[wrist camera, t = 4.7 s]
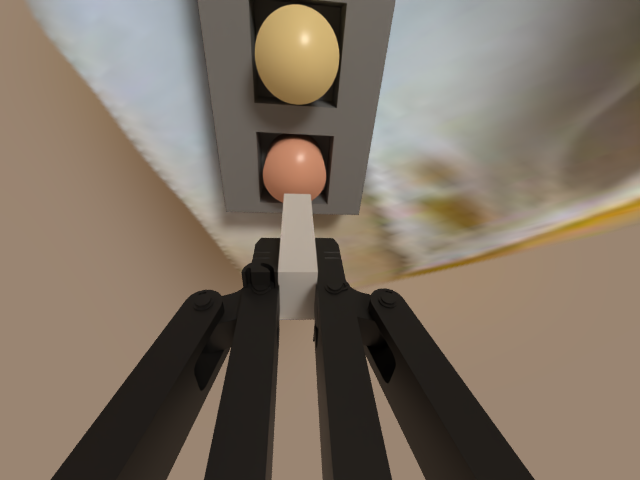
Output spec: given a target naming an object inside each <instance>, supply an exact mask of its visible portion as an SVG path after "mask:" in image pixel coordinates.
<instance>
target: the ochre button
mask: <svg viewBox="0 0 640 480" xmlns="http://www.w3.org/2000/svg"><path fill="white" fill-rule="evenodd" d="M255 62H256V66H257V70H258V73H259V76H260V78H261V80H262V82H263V83H264V85H265V86H266V87H267V89H268V90H269V91H270V92H271V93H272V94H273V95H274V96H276V97H277V98H279V99H280V100H282V101H284V102H287V103H290V104H296V105H302V104H308V103H311V102H313V101H315V100H317V99H319V98H320V97H322V96H323V95H324V94H325V93H326V92H327V91H328V90H329V88H330V87H331V85H332V83H333V81H334V79H335V77H336V74H337V71H338V66H339V48H338V42H337V39H336V36H335V34H334V31H333V29H332V28H331V26H330V24H329V23H328V22H327V20H326V19H325V18H324V17H323V16H322V15H321V14H320V13H318V12H317V11H316V10H314V9H312V8H310V7H307V6H304V5H296V4H292V5H286V6H283V7H281V8H279V9H277V10H275V11H274V12H273V13H271V14H270V15H269V16H268V17H267V18H266V20H265V21H264V22H263V24H262V26H261V28H260V30H259V32H258V35H257V39H256V43H255Z"/></svg>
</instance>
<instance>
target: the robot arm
mask: <svg viewBox="0 0 640 480" xmlns="http://www.w3.org/2000/svg"><path fill="white" fill-rule="evenodd" d="M242 280H243V288H242V289H241V290H239V291H238V292H235V293H232V294H229V295H224V296H221V295H220V294H219V293H218V292H216V291H213V290H202V291H198V292H196V293H194V294H192V295H191V296H190V297H189V298H188V299H187V300H186V301H185V302H184V303H183V305H182V306H181V307H180V309H179V310H178V311H177V313H176V314H175V315H174V317H173V318H172V319H171V321H170V322H169V323H168V325H167V326H166V327H165V329H164V330H163V331H162V333H161V334H160V335H159V337H158V338H157V339H156V341H155V342H154V343H153V345H152V346H151V347H150V349H149V350H148V351H147V352H146V354H145V355H144V356H143V358H142V359H141V360H140V362H139V363H138V365H137V366H136V367H135V368H134V370H133V371H132V372H131V374H130V375H129V376H128V378H127V379H126V380H125V382H124V383H123V384H122V386H121V387H120V388H119V390H118V391H117V392H116V394H115V395H114V396H113V398H112V399H111V400H110V402H109V403H108V404H107V406H106V407H105V408H104V410H103V411H102V412H101V414H100V415H99V416H98V418H97V419H96V420H95V422H94V423H93V424H92V425H91V427H90V428H89V429H88V431H87V432H86V434H85V435H84V436H83V437H82V439H81V440H80V441H79V443H78V444H77V445H76V447H75V448H74V449H73V451H72V452H71V453H70V455H69V456H68V458H67V459H66V460H65V461H64V463H63V464H62V465H61V467H60V468H59V469H58V471H57V472H56V473H55V475H54V476H53V477H52V479H51V480H166V479H167V477H168V475H169V473H170V471H171V469H172V467H173V465H174V463H175V461H176V459H177V456H178V455H179V453H180V450H181V448H182V446H183V444H184V442H185V440H186V438H187V436H188V434H189V432H190V430H191V428H192V426H193V424H194V422H195V420H196V418H197V416H198V414H199V412H200V409H201V407H202V405H203V403H204V401H205V399H206V397H207V395H208V393H209V391H210V389H211V387H212V385H213V383H214V381H215V379H216V377H217V375H218V372H219V370H220V368H221V366H222V364H223V362H224V360H225V358H226V356H227V354H228V352H229V350H230V347H231V351H230V356H229V362H228V366H227V371H226V376H225V381H224V385H223V390H222V395H221V400H220V405H219V410H218V414H217V419H216V425H215V429H214V434H213V439H212V444H211V448H210V453H209V458H208V463H207V468H206V472H205V478H204V480H271V478H272V458H273V441H274V440H273V439H274V421H275V404H276V385H277V365H278V348H279V320H303V319H314V318H315V326H314V337H313V341H315V353H316V370H317V371H316V372H317V389H318V405H319V423H320V441H321V458H322V474H323V480H392V478H391V473H390V468H389V463H388V459H387V454H386V450H385V445H384V440H383V436H382V431H381V426H380V422H379V417H378V412H377V408H376V403H375V398H374V394H373V389H372V384H371V380H370V375H369V371H368V366H367V361H366V357H367V359H368V361H369V363H370V365H371V367H372V369H373V371H374V373H375V375H376V377H377V379H378V381H379V384H380V386H381V388H382V390H383V392H384V394H385V396H386V398H387V400H388V402H389V404H390V406H391V408H392V411H393V413H394V415H395V417H396V419H397V421H398V423H399V425H400V427H401V429H402V431H403V433H404V435H405V437H406V439H407V442H408V444H409V446H410V448H411V450H412V452H413V454H414V456H415V458H416V460H417V462H418V464H419V466H420V468H421V471H422V473H423V475H424V477H425V479H426V480H535V479H534V478H533V477H532V475H531V474H530V473H529V471H528V470H527V468H526V467H525V466H524V464H523V463H522V462H521V460H520V459H519V457H518V456H517V455H516V453H515V452H514V451H513V449H512V448H511V446H510V445H509V444H508V442H507V441H506V439H505V438H504V437H503V435H502V434H501V433H500V431H499V430H498V428H497V427H496V426H495V424H494V423H493V422H492V420H491V419H490V417H489V416H488V415H487V413H486V412H485V411H484V409H483V408H482V406H481V405H480V404H479V402H478V401H477V399H476V398H475V397H474V396H473V394H472V393H471V391H470V390H469V388H468V387H467V386H466V384H465V383H464V382H463V380H462V379H461V377H460V376H459V375H458V374H457V372H456V371H455V369H454V368H453V366H452V365H451V364H450V362H449V361H448V360H447V358H446V357H445V355H444V354H443V353H442V352H441V350H440V349H439V347H438V346H437V344H436V343H435V342H434V340H433V339H432V337H431V336H430V335H429V333H428V332H427V331H426V329H425V328H424V327H423V325H422V324H421V322H420V321H419V320H418V319H417V317H416V315H415V314H414V313H413V311H412V310H411V309H410V307H409V306H408V304H407V303H406V302H405V300H404V299H403V298H402V297H401V296H400V295H399V294H398V293H396V292H395V291H393V290H389V289H378V290H375V291H374V292H373V293H372V294H371V295H369V294H365V293H361V292H359V291H356V290H354V289H353V288H351V287H350V285H349V283H348V282H346V279H345V275H344V270H343V265H342V260H341V255H340V250H339V245H338V244H337V242H336V241H335V240H334V239H333V238H315V235H314V224H313V213H312V203H311V194H285V193H284V201H283V213H282V226H281V238H261V239H260V240H259V241H258V242H257V243H256V244H255V249H254V254H253V260H252V263H250V264H248V265H247V266H245V267H244V268H243V270H242ZM365 355H366V356H365Z"/></svg>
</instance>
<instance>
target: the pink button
mask: <svg viewBox="0 0 640 480" xmlns="http://www.w3.org/2000/svg"><path fill="white" fill-rule="evenodd" d="M263 180H264V184H265V186H266V188H267V190H268V192H269V193H270V194H271V195H272V196H273V197H274V198H275V199H277V200H278V201H280V202H282V203H283V201H284V193H285V194H311V201H312V200H313V199H315V198H316V197H317V196H318V195H319V194H320V193H321V191H322V190H323V188H324V185H325V182H326V170H325V165H324V161H323V157H322V153H321V149H320V147H319V145H318V144H317V142H316V141H315V140H314V139H313V138H312V137H310V136H309V135H305V134H287V133H283V134H281V135H279V136H278V137H276V138H275V139H274V140H273V141H272V143H271V144H270V146H269V149H268V152H267V156H266V160H265V165H264V169H263Z"/></svg>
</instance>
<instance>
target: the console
mask: <svg viewBox="0 0 640 480" xmlns="http://www.w3.org/2000/svg"><path fill="white" fill-rule="evenodd" d="M292 4H296V5H304V6H307V7H310V8H312V9H314V10H316V11H317V12H318V13H320V14H321V15H322V16H323V17H324V18H325V19H326V20H327V22H328V23H329V24H330V26H331V28H332V29H333V31H334V34H335V36H336V39H337V42H338V48H339V66H338V71H337V74H336V77H335V79H334V81H333V83H332V85H331V87H330V88H329V90H328V91H327V92H326V93H325V94H324V95H323V96H322V97H320V98H319V99H317V100H315V101H313V102H311V103H308V104H302V105H296V104H290V103H287V102H284V101H282V100H280V99H279V98H277V97H276V96H274V95H273V94H272V93H271V92H270V91H269V90H268V89H267V87H266V86H265V85H264V83H263V82H262V80H261V78H260V76H259V73H258V70H257V66H256V62H255V43H256V39H257V35H258V32H259V30H260V28H261V26H262V24H263V22H264V21H265V20H266V18H267V17H268V16H269V15H270V14H271V13H273V12H274V11H275V10H277V9H279V8H281V7H283V6H286V5H292ZM394 6H395V0H198V8H199V15H200V22H201V30H202V37H203V44H204V52H205V59H206V67H207V74H208V81H209V89H210V96H211V103H212V111H213V118H214V125H215V133H216V140H217V147H218V155H219V162H220V170H221V177H222V184H223V192H224V199H225V206H226V212H262V213H283V203H282V202H280V201H278V200H277V199H275V198H274V197H273V196H272V195H271V194H270V193H269V192H268V190H267V188H266V186H265V184H264V180H263V169H264V165H265V160H266V156H267V152H268V149H269V146H270V144H271V143H272V141H273V140H274V139H275V138H276V137H278V136H279V135H281V134H283V133H287V134H305V135H309V136H310V137H312V138H313V139H314V140H315V141H316V142H317V144H318V145H319V147H320V149H321V153H322V157H323V161H324V165H325V170H326V182H325V185H324V188H323V190H322V191H321V193H320V194H319V195H318V196H317V197H316V198H315V199H313V200H312V201H311V203H312V213H313V214H341V215H359V210H360V204H361V199H362V193H363V187H364V181H365V175H366V169H367V164H368V158H369V152H370V146H371V140H372V134H373V129H374V123H375V117H376V111H377V105H378V99H379V94H380V88H381V82H382V76H383V70H384V64H385V59H386V53H387V47H388V41H389V35H390V29H391V24H392V18H393V12H394Z"/></svg>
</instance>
